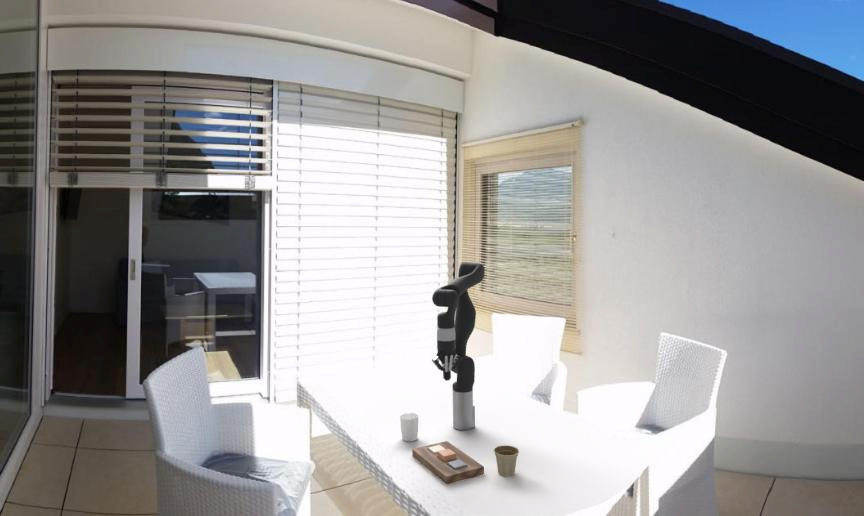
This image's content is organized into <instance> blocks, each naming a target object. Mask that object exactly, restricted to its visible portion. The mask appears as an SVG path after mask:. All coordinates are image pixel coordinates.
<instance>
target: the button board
mask: <svg viewBox="0 0 864 516" xmlns="http://www.w3.org/2000/svg"><path fill="white" fill-rule="evenodd" d="M437 445H440V446H442V447H443V448H445V449H450V450H452V451H453V452H455V453H456V459H454V460H450V461H446V462H443V461H442V460H440V459H439V458H438V454H433V453H431V452H430V451H429V450H428V447H432V446H437ZM411 451H412V453H411V454H412V455H411V456H412V457H413V458H414V459H415V460H416V461H417V462H419V463H420V464H421V465H422V466H423V467H425V468H426V469H427V470H428V471H429V472H431V473H432V474H433V475H434V476H435V477H436V478H438V479H439V480H440V481H441V482H442V483H444V484H445V485H446V486H448V485H450V484H454V483H458V482H462V481H465V480H469V478H470V479H473V478H477V477H480V476H484V475H485V466H484V465H482V464H481V463H480V462H478V461H477V460H475V459H474V458H472V457H471V456H469V455H468V454H466V453H465V452H464V451H463V450H461V449H460V448H458V447H456V446H455V445H454V444H452V443H450V442H449V441H447V440H445V441H441V442H436V443H433V444H429V445H423V446H420V447H415V448H412V449H411ZM459 459H460V460H461V461H463V462H464V463H465V464H467V467H465V468H461V469H457V470H453V469H452V468H451V467H449V466H448V462H451V461H455V460H459ZM483 474H484V475H483Z"/></svg>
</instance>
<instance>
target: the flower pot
mask: <svg viewBox="0 0 864 516" xmlns="http://www.w3.org/2000/svg"><path fill="white" fill-rule="evenodd" d="M493 453H494V456H495V459H496V467H497V473H498V474H499V475H500V476H504V477H510V476H514V475H515V474H516V466H517V460H518V459H517V458H518V455H519V453H520V450H519V448H517V447H515V446H513V445H509V444H508V445H507V444H505V445H499V446H495V447H494V448H493Z"/></svg>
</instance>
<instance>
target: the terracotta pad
mask: <svg viewBox="0 0 864 516" xmlns="http://www.w3.org/2000/svg"><path fill="white" fill-rule="evenodd" d="M438 458H439V459H440V460H442V461H443V462H446V461H450V460H454V459H456V453H455V452H453V451H452V450H450V449H446V450H441V451H438Z"/></svg>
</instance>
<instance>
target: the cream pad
mask: <svg viewBox="0 0 864 516" xmlns="http://www.w3.org/2000/svg"><path fill="white" fill-rule="evenodd" d="M428 450H429V451H430V452H431V453H433V454H438V451H441V450H446V449H445V448H443V447H442V446H440V445H437V446H432V447H428Z"/></svg>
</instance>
